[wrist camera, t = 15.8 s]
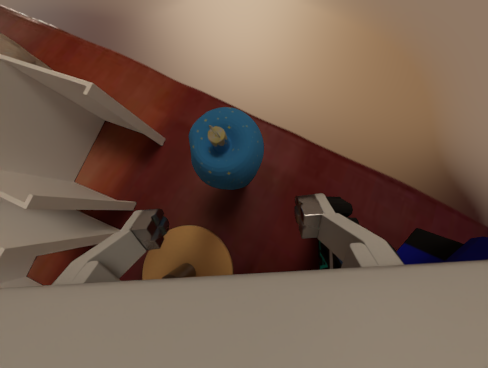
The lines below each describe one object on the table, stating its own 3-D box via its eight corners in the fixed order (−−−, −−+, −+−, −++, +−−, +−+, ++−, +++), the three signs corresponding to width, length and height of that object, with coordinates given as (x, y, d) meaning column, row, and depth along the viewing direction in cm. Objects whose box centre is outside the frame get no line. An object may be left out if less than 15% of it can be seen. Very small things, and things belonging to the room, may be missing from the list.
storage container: (104, 117, 26) (-4, 52, 16) (165, 138, 25) (92, 83, 14) (22, 277, 24) (-179, 333, 13) (86, 313, 22) (-83, 412, 11)
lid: (133, 293, 22) (95, 319, 17) (171, 211, 23) (145, 211, 18) (212, 337, 20) (195, 379, 15) (247, 246, 21) (244, 256, 16)
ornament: (242, 154, 23) (213, 57, 9) (270, 180, 23) (289, 120, 8) (215, 180, 23) (138, 127, 8) (242, 208, 22) (207, 201, 8)
